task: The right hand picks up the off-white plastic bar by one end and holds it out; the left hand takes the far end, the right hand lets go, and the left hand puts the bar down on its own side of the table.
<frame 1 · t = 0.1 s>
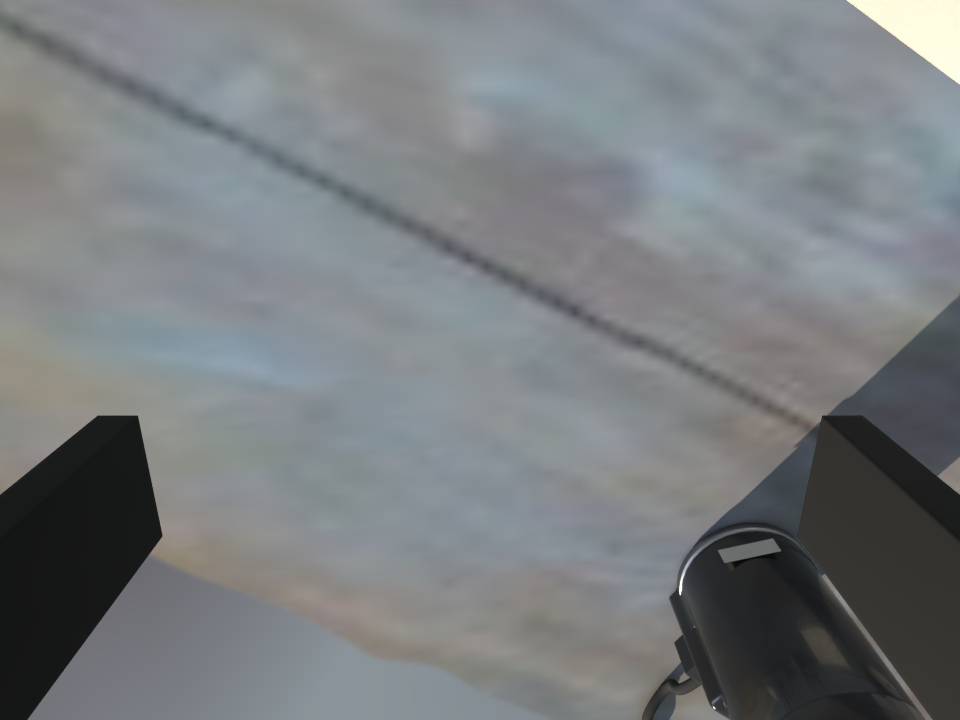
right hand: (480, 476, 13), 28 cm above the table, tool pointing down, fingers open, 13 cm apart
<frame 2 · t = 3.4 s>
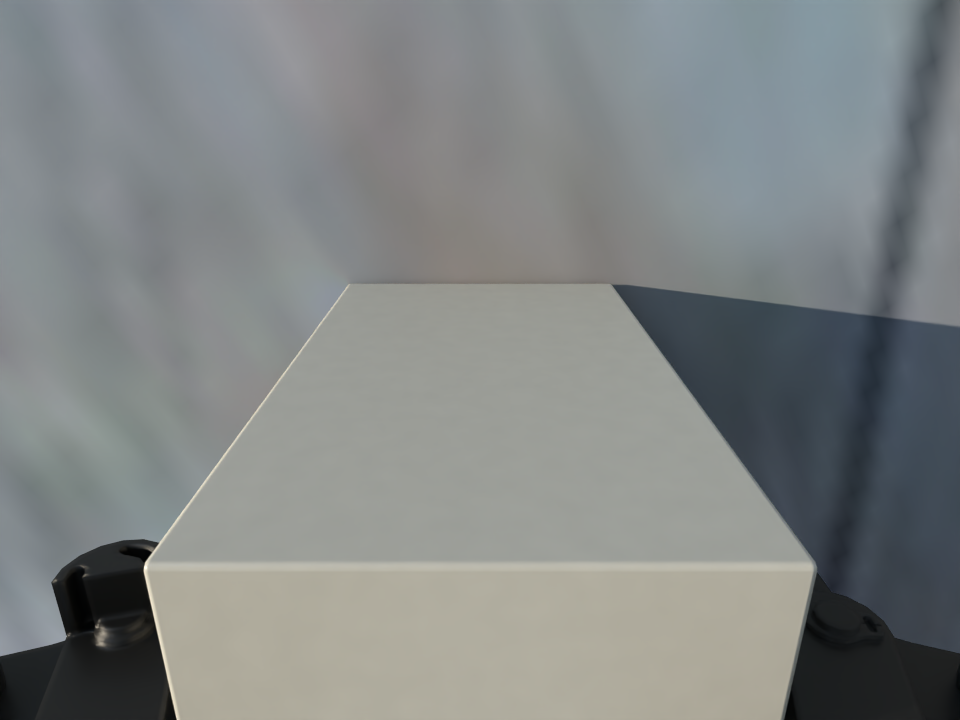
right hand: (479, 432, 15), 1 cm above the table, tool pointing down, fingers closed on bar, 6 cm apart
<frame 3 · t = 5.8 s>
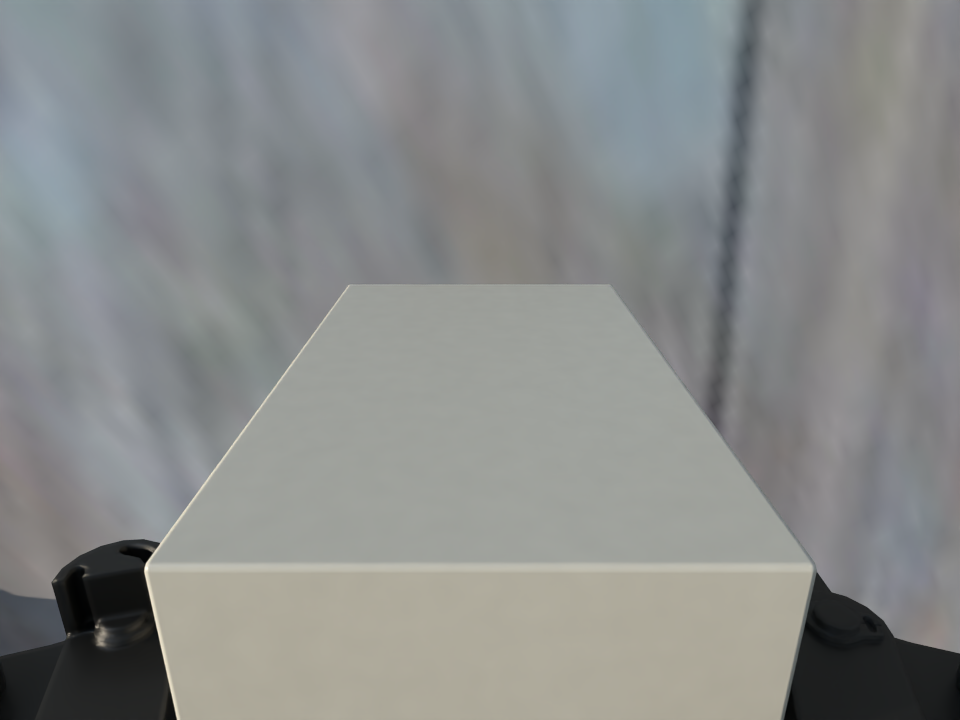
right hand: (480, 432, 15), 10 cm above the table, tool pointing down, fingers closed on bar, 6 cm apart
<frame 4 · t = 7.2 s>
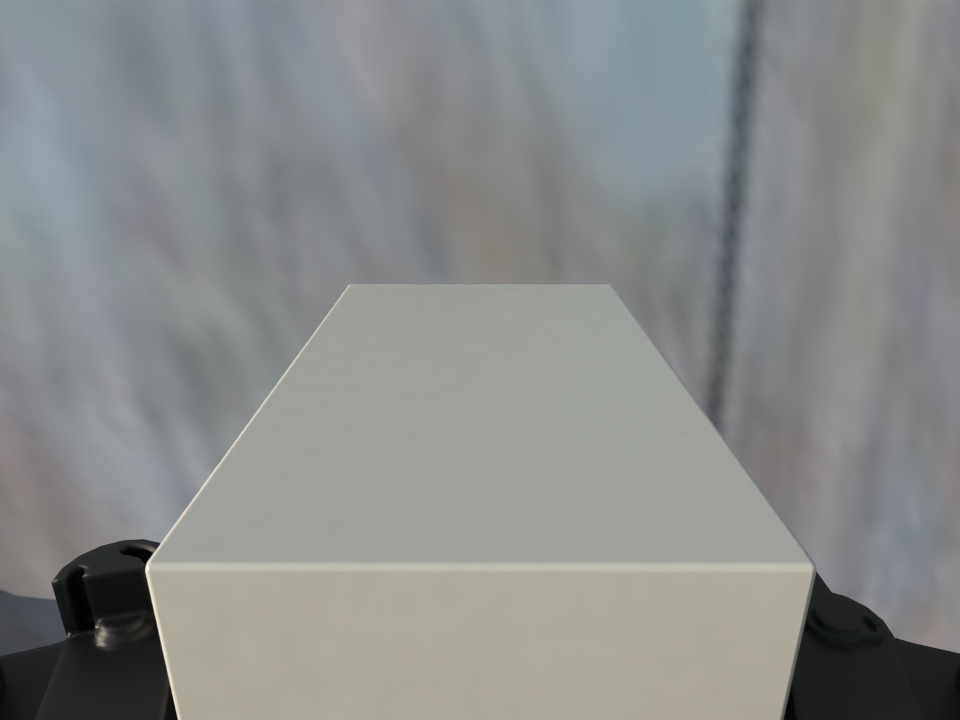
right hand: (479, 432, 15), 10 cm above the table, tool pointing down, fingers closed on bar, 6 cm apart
when the right hand's fingers open (10 cm above the table, at t = 8.1 s): bar stays where it is, held by the left hand.
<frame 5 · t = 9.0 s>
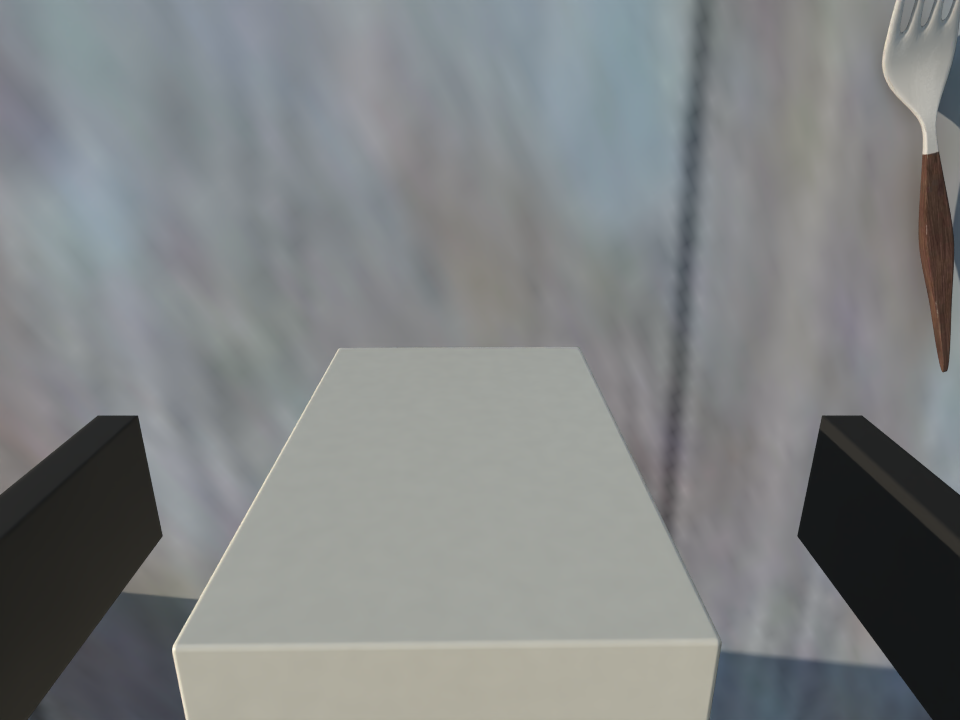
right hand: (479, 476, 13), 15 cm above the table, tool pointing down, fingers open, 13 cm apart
fork: (921, 181, 26), on the table
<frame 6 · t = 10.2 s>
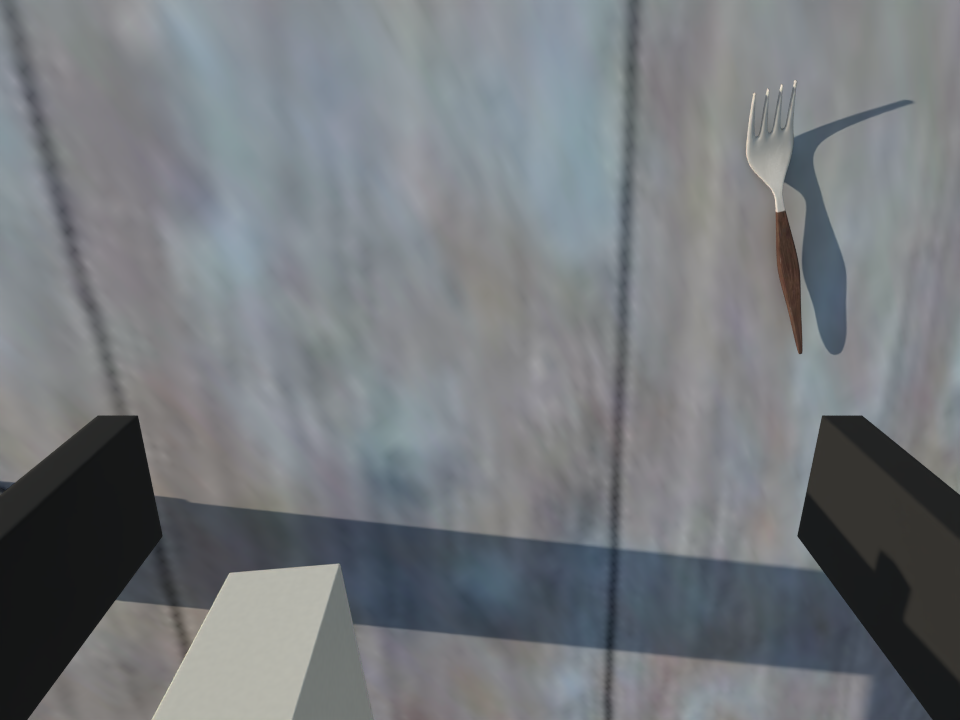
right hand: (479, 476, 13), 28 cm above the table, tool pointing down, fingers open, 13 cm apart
fork: (778, 228, 39), on the table
when the left hand's fingers open (6 cm above the table, at t = 13.5 s): bar drops 1 cm, on the table.
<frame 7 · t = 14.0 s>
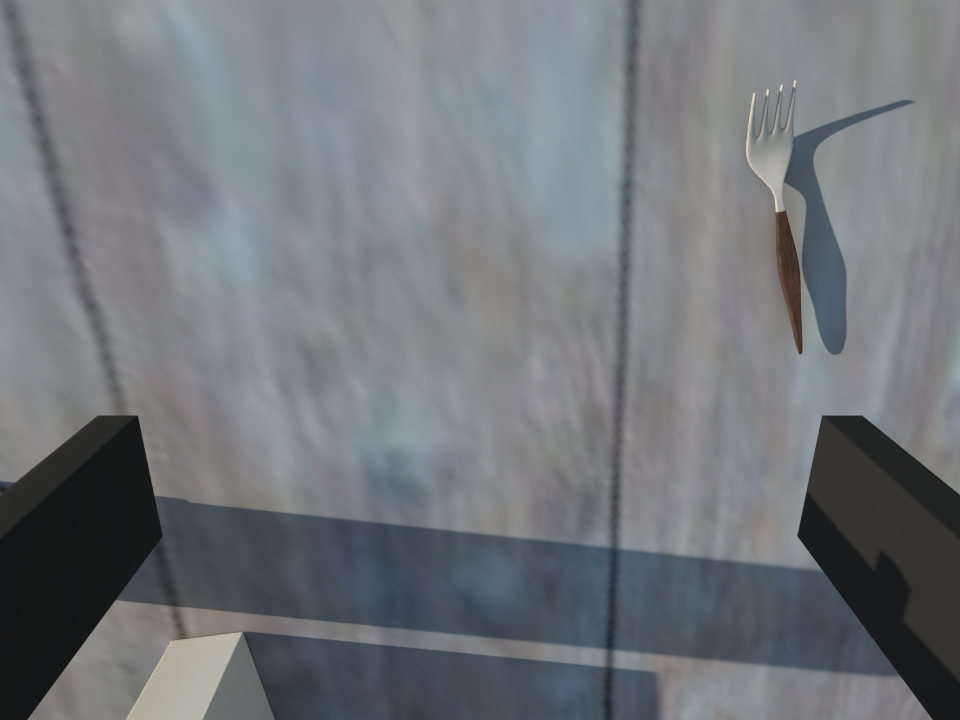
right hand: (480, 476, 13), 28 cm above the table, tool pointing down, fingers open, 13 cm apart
fork: (778, 228, 39), on the table
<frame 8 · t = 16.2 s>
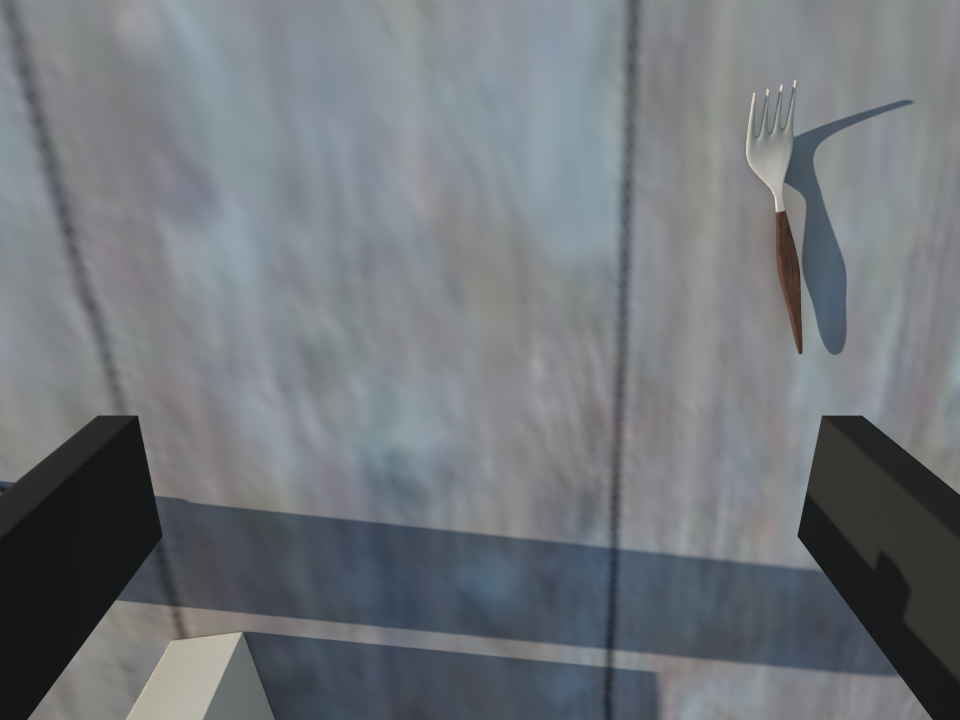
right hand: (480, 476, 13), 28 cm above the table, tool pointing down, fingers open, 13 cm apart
fork: (778, 228, 39), on the table
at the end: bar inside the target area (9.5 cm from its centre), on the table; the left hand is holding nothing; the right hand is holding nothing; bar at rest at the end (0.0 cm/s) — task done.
